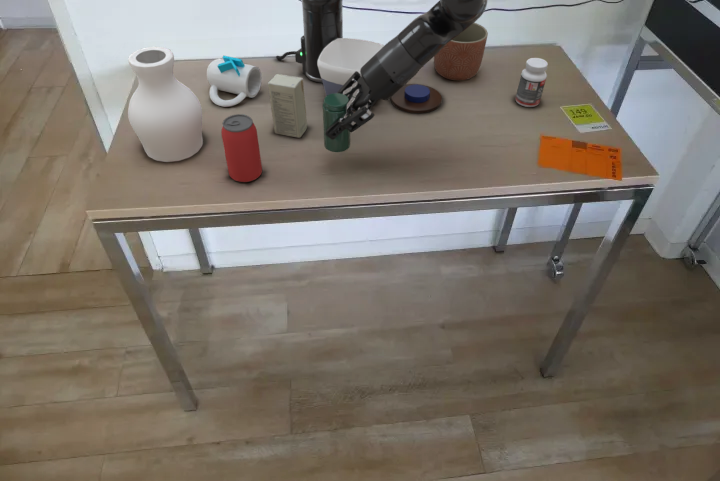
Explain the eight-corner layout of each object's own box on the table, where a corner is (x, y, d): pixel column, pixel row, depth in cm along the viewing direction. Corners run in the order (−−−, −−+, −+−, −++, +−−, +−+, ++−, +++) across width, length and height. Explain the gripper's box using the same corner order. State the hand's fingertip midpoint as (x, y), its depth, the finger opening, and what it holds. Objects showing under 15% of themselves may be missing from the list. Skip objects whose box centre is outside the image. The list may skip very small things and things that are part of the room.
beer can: (230, 164, 114) (221, 112, 106) (263, 162, 115) (256, 111, 106) (227, 184, 110) (217, 132, 101) (261, 183, 110) (254, 131, 102)
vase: (149, 125, 124) (123, 37, 109) (214, 126, 124) (197, 39, 110) (130, 164, 114) (99, 74, 99) (200, 165, 114) (180, 75, 99)
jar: (319, 147, 111) (317, 102, 104) (332, 134, 114) (331, 89, 107) (341, 155, 109) (341, 110, 102) (355, 142, 112) (355, 96, 105)
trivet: (381, 104, 131) (381, 101, 131) (404, 82, 139) (404, 79, 138) (428, 118, 127) (428, 115, 127) (449, 95, 135) (449, 92, 134)
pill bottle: (539, 109, 131) (550, 70, 124) (514, 106, 132) (524, 67, 125) (539, 96, 135) (549, 58, 128) (515, 94, 136) (524, 55, 129)
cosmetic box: (307, 128, 124) (304, 77, 115) (300, 139, 121) (296, 88, 112) (281, 122, 125) (276, 72, 117) (272, 133, 122) (267, 82, 114)
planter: (446, 56, 149) (452, 15, 141) (488, 70, 144) (496, 28, 136) (422, 74, 141) (426, 32, 134) (465, 90, 136) (472, 47, 129)
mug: (207, 43, 130) (253, 53, 127) (221, 70, 138) (264, 80, 135) (184, 83, 126) (230, 95, 123) (200, 108, 134) (244, 119, 131)
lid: (434, 98, 132) (434, 93, 131) (413, 105, 130) (414, 99, 129) (419, 87, 135) (420, 82, 134) (399, 93, 133) (400, 88, 132)
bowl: (375, 120, 126) (376, 75, 118) (311, 108, 130) (309, 63, 122) (393, 88, 137) (396, 44, 129) (334, 77, 140) (333, 33, 132)
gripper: (372, 36, 104) (310, 96, 111) (383, 75, 94) (315, 138, 101) (399, 61, 108) (337, 118, 116) (412, 101, 98) (344, 160, 106)
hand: (327, 127), depth 108 cm, fingers closed on jar, 5 cm apart
